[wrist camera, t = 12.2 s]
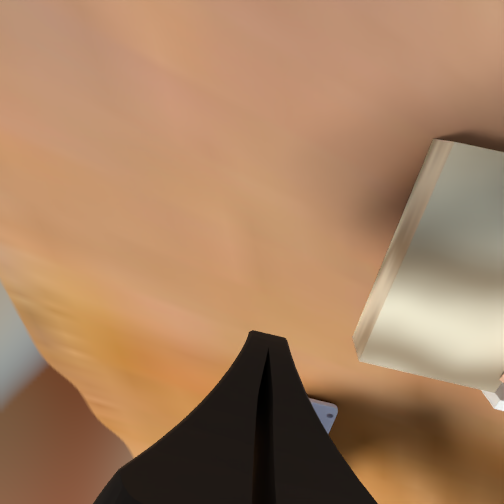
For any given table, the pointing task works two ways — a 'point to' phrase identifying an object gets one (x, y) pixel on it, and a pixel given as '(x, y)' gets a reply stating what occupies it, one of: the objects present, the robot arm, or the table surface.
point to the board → (443, 275)
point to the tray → (496, 397)
